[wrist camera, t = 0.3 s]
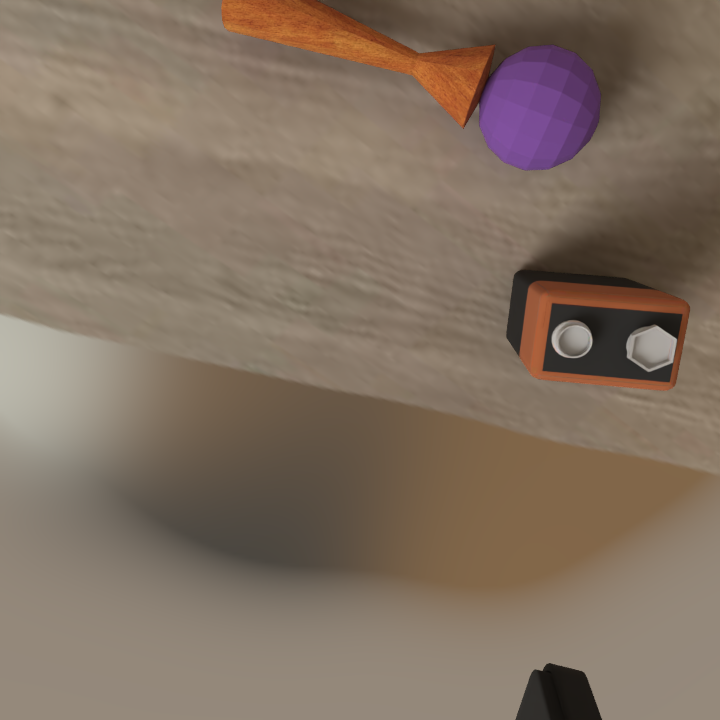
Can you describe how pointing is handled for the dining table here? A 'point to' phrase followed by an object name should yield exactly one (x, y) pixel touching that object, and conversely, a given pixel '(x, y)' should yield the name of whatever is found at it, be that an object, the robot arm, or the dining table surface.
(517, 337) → the battery
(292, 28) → the kendama
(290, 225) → the dining table surface
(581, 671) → the robot arm
